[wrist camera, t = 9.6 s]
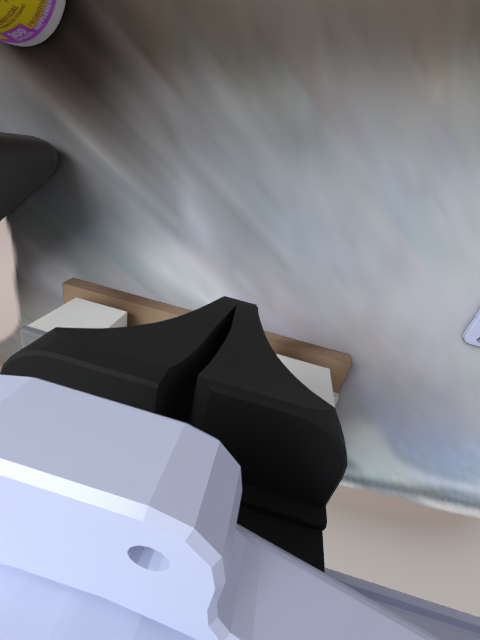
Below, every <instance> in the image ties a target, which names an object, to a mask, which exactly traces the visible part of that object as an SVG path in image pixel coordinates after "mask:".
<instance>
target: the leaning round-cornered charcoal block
mask: <svg viewBox="0 0 480 640" xmlns="http://www.w3.org/2000/svg"><path fill="white" fill-rule="evenodd" d="M57 164H58V155H57V152H56V150H55V149H54V148H53V146H52V145H51V144H49V143H48V142H46V141H44V140H42V139H39V138H36V137H33V136H27V135H19V134H11V133H2V132H0V221H1V220H2V219H3V218H4V217H5V216H6V215H7V214H8V213H10V212H11V211H12V210H13V209H14V208H15V207H16V206H17V205H18V204H20V203H21V202H22V201H23V200H24V199H25V198H26V197H27V196H28V195H29V194H31V193H32V192H33V191H34V190H35V189H36V188H37V187H38V186H39V185H41V184H42V183H43V182H44V181H45V180H46V179H47V178H48V177H49V176H50V175H51V174H52V173H53V172H54V171H55V169H56V167H57Z"/></svg>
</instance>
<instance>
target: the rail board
mask: <svg viewBox="0 0 480 640" xmlns="http://www.w3.org/2000/svg"><path fill="white" fill-rule="evenodd" d="M62 284H63V297H64V304H66V303H67V302H69V301H71V300H73V299H74V298H76V297H77V298H80V299H84V300H87V301H91V302H94V303H98V304H101V305H105V306H108V307H112V308H116V309H119V310H123V311H126V312H127V327H128V326H136V325H142V324H149V323H155V322H160V321H164V320H168V319H171V318H175V317H178V316H181V315H184V314H186V313H189V312H191V311H190V310H187V309H183V308H179V307H176V306H172V305H169V304H165V303H161V302H158V301H154V300H151V299H147V298H143V297H140V296H136V295H133V294H129V293H125V292H122V291H118V290H115V289H111V288H107V287H104V286H100V285H97V284H93V283H89V282H86V281H82V280H79V279H75V278H72V279H70V280H68V281H66V282H64V283H62ZM264 333H265V335H266V337H267V339H268V341H269V343H270V345H271V347H272V349H273V350H274V352H275V353H276V354H279V355H282V356H286V357H289V358H293V359H297V360H300V361H304V362H307V363H311V364H314V365H318V366H321V367H325V368H328V369H330V375H331V382H332V389H333V396H334V403H335V406H336V404H337V402H338V400H339V395H338V392H339V390H340V388H341V386H342V384H343V382H344V380H345V378H346V376H347V374H348V372H349V370H350V368H351V366H352V361H351V357H350V355H348V354H345V353H341V352H338V351H334V350H330V349H327V348H323V347H320V346H316V345H312V344H309V343H305V342H302V341H298V340H294V339H291V338H287V337H284V336H280V335H276V334H273V333H269V332H266V331H264Z"/></svg>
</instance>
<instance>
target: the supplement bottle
mask: <svg viewBox="0 0 480 640" xmlns="http://www.w3.org/2000/svg"><path fill="white" fill-rule="evenodd" d="M65 4H66V0H0V41H3V42H5V43H8V44H11V45H15V46H23V47H26V46H33V45H37V44H39V43H41V42H43V41H45V40H46V39H47V38H48V37H49V36H51V34H52V33H53V32H54V31H55V29H56V28H57V26H58V24H59V22H60V20H61V18H62V15H63V12H64V8H65Z"/></svg>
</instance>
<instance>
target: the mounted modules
mask: <svg viewBox="0 0 480 640" xmlns="http://www.w3.org/2000/svg"><path fill="white" fill-rule="evenodd" d="M55 327H63V328H117V327H127V312H126V311H123V310H119V309H116V308H112V307H108V306H105V305H101V304H98V303H94V302H91V301H87V300H84V299H80V298H77V297H76V298H74V299H73V300H71V301H69V302H67V303H66V304H64V305H62V306H60V307H59V308H57V309H55V310H54V311H52V312H50V313H48V314H47V315H45V316H43V317H41V318H40V319H38V320H36V321H35V322H33V323H31V324H29V325H28V326H23V327H22V328H20V333H21V339H22V345H23V348H24V347H26V346H27V345H29V344H31V343H32V342H34V341H35V340H37V339H38V338H40V337H41V336H43V335H44V334H46V333H47V332H49V331H50V330H52V329H54V328H55ZM276 355H277V356H278V358H279V359H280V360H281V361H282V363H283V364H284V365H285V366H286V367H287V368H288V369H289V371H290V372H291V373H292V374H293V375H294V376H295V377H296V378H297V379H298V380H299V381H301V382H302V383H303V384H304V385H305V386H306V387H307V388H309V389H310V390H311V391H312V392H314V393H315V394H317V395H318V396H319V397H321V398H322V399H324V400H325V401H326V402H328V403H329V404H330V405H332V406H333V407H335V403H334V396H333V389H332V382H331V375H330V369H328V368H325V367H321V366H318V365H314V364H311V363H307V362H304V361H300V360H297V359H293V358H289V357H286V356H282V355H279V354H276Z"/></svg>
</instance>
